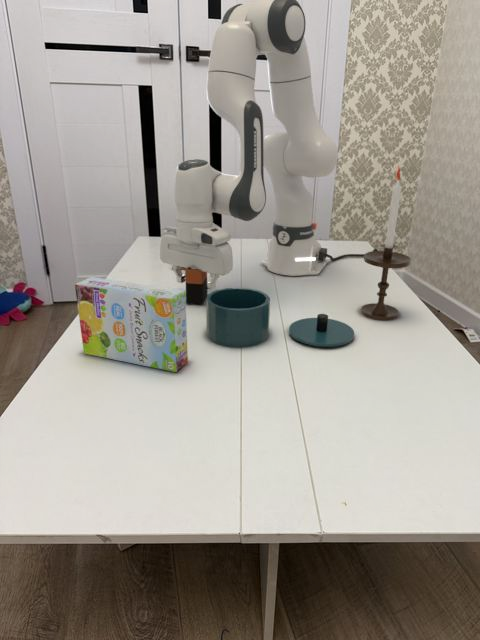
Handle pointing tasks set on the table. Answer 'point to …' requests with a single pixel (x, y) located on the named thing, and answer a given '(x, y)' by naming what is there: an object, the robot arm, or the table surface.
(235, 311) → the pot
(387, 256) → the candlestick
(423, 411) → the table surface
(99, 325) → the snack box
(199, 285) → the battery
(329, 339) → the lid
